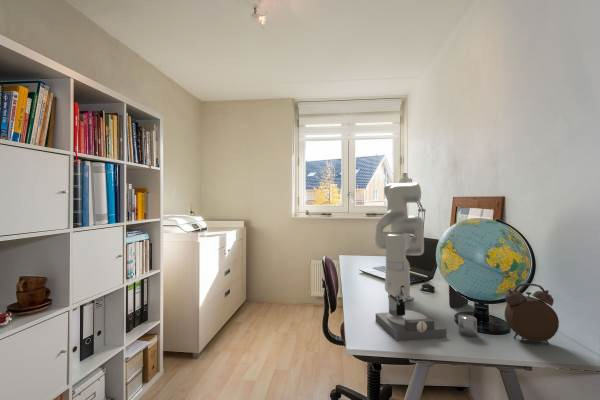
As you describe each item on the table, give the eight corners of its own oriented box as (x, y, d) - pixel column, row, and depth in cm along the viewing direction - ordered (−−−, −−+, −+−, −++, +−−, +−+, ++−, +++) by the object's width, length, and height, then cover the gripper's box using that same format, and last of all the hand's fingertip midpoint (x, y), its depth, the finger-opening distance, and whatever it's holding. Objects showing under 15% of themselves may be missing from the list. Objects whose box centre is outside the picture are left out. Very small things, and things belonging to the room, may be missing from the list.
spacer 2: (454, 331, 111) (454, 315, 111) (469, 330, 112) (468, 314, 112) (465, 338, 105) (465, 321, 105) (481, 336, 106) (480, 320, 106)
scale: (375, 320, 122) (375, 305, 122) (418, 317, 125) (417, 303, 125) (397, 341, 103) (397, 323, 103) (447, 337, 105) (446, 320, 106)
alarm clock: (547, 338, 104) (545, 281, 105) (561, 348, 97) (559, 287, 98) (501, 335, 107) (500, 280, 108) (511, 344, 100) (510, 285, 100)
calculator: (460, 302, 145) (459, 271, 145) (469, 304, 141) (468, 273, 141) (448, 306, 139) (447, 274, 139) (457, 309, 135) (456, 276, 135)
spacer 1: (386, 311, 118) (386, 296, 118) (400, 310, 118) (400, 295, 118) (393, 316, 112) (392, 301, 112) (407, 315, 112) (407, 300, 113)
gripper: (378, 261, 123) (378, 305, 123) (397, 270, 106) (398, 320, 106) (394, 261, 124) (395, 304, 124) (416, 269, 107) (417, 319, 107)
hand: (396, 311), depth 115 cm, fingers closed on spacer 1, 5 cm apart
